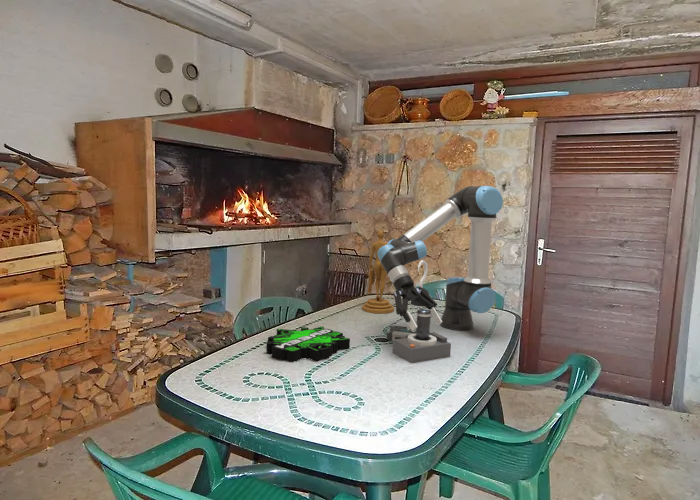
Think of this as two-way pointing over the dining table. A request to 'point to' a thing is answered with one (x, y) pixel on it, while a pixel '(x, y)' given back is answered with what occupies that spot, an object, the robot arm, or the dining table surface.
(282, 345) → the sign
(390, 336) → the handgun
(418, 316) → the lens
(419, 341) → the camera body
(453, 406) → the dining table surface
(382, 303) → the statue
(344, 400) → the dining table surface
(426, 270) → the hook
